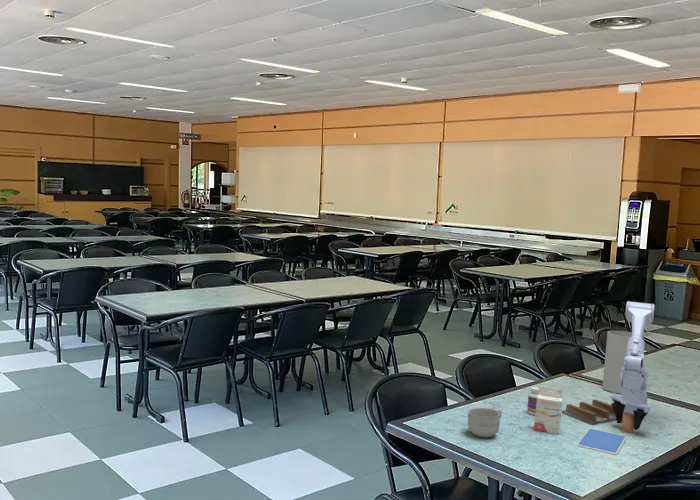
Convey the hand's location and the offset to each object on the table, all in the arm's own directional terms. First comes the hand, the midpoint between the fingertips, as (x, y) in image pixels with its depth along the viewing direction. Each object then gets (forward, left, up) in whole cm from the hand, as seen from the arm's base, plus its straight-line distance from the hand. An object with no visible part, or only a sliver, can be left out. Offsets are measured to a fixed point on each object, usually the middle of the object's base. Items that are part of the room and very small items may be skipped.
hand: (627, 426), depth 238 cm
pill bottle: (+18, -27, -2) cm, 32 cm away
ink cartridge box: (+28, -12, -2) cm, 31 cm away
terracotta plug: (0, 0, -2) cm, 2 cm away
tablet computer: (+19, +4, -2) cm, 20 cm away
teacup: (+51, -18, -2) cm, 54 cm away
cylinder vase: (-42, -35, -2) cm, 55 cm away
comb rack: (-2, -16, -2) cm, 16 cm away
